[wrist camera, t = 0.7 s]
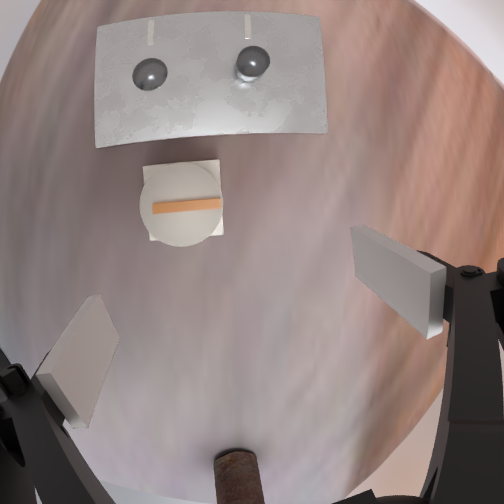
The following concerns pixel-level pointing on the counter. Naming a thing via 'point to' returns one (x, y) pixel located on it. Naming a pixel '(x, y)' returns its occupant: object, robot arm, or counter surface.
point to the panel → (208, 77)
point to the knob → (182, 202)
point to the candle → (238, 479)
